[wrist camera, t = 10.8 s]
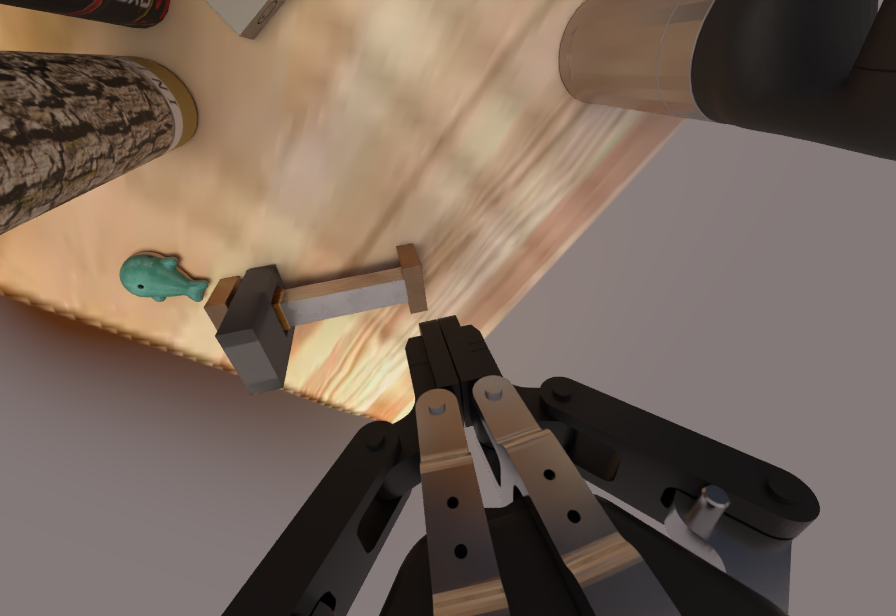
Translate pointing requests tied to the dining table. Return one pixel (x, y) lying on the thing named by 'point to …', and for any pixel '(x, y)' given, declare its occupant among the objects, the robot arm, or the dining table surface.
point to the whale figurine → (159, 278)
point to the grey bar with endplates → (335, 294)
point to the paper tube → (81, 125)
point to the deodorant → (102, 10)
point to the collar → (256, 333)
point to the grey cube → (246, 14)
